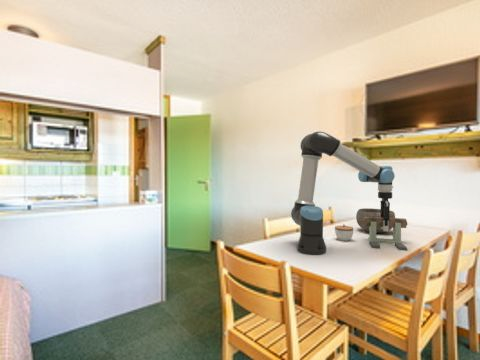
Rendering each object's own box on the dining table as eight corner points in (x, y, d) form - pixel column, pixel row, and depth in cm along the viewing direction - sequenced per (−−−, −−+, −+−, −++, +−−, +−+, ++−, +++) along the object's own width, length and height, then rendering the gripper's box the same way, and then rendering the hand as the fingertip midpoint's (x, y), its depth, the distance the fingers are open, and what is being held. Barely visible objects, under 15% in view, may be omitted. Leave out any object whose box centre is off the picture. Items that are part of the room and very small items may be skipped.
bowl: (394, 237, 169) (395, 214, 169) (353, 233, 182) (353, 211, 181) (395, 230, 190) (396, 209, 189) (358, 226, 202) (358, 207, 202)
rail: (364, 225, 162) (364, 217, 162) (363, 224, 166) (363, 216, 165) (407, 228, 155) (407, 219, 155) (405, 226, 158) (406, 218, 158)
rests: (371, 247, 147) (371, 245, 147) (369, 243, 156) (369, 241, 155) (407, 250, 142) (407, 247, 142) (402, 246, 150) (402, 243, 150)
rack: (369, 241, 160) (369, 221, 160) (368, 238, 166) (368, 219, 166) (401, 243, 155) (402, 223, 155) (399, 241, 161) (399, 221, 160)
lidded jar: (347, 243, 157) (347, 227, 157) (331, 239, 166) (331, 224, 165) (356, 239, 164) (356, 224, 164) (340, 236, 172) (340, 222, 172)
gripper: (396, 193, 150) (395, 233, 150) (388, 190, 167) (388, 227, 168) (381, 192, 152) (380, 233, 153) (375, 190, 170) (375, 226, 170)
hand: (384, 229), depth 160 cm, fingers open, 6 cm apart
